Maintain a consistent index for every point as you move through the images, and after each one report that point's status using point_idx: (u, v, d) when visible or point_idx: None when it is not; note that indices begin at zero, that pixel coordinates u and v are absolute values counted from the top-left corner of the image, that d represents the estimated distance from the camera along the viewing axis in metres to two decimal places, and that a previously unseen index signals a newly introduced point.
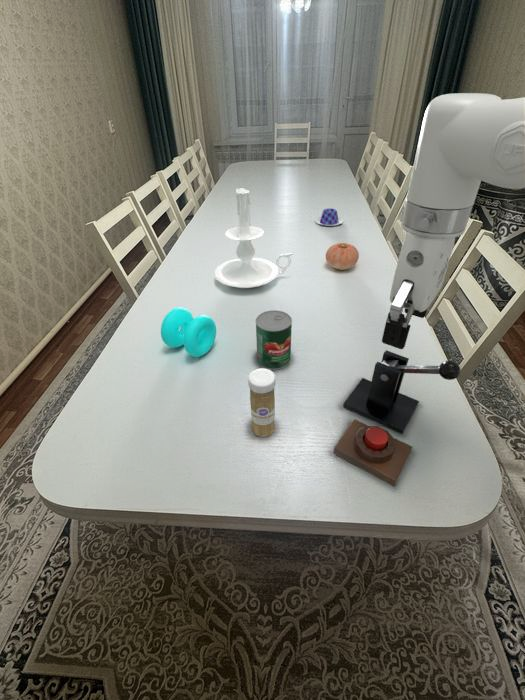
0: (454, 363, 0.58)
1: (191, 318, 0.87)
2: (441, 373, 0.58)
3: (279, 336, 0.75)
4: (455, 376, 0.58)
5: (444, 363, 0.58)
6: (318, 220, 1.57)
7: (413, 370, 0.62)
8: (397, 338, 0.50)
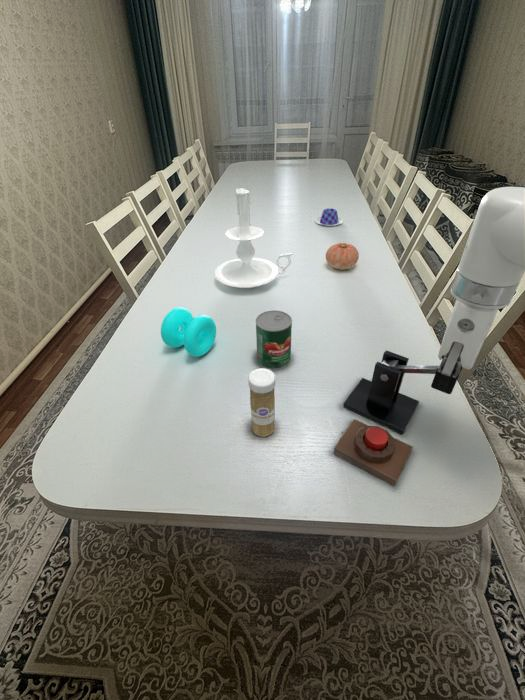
0: None
1: (191, 318, 0.87)
2: None
3: (279, 336, 0.75)
4: None
5: None
6: (318, 220, 1.57)
7: (413, 370, 0.62)
8: (446, 385, 0.57)
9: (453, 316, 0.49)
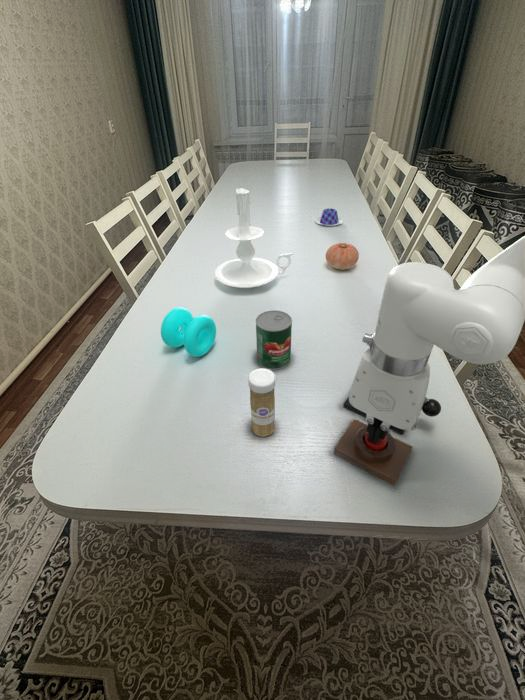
0: (440, 408, 0.64)
1: (191, 318, 0.87)
2: (426, 408, 0.64)
3: (279, 336, 0.75)
4: (431, 416, 0.64)
5: (435, 403, 0.63)
6: (318, 220, 1.57)
7: None
8: (367, 427, 0.60)
9: None
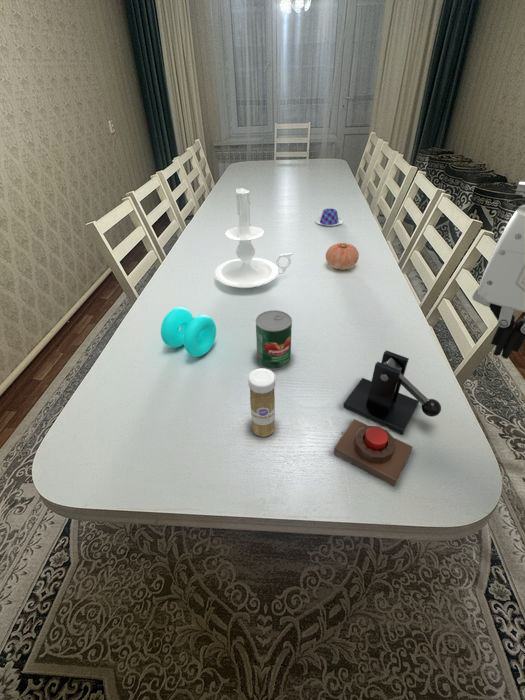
0: (440, 408, 0.64)
1: (191, 318, 0.87)
2: (426, 408, 0.64)
3: (279, 336, 0.75)
4: (431, 416, 0.64)
5: (435, 403, 0.63)
6: (318, 220, 1.57)
7: (407, 387, 0.65)
8: None
9: None
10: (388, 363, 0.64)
